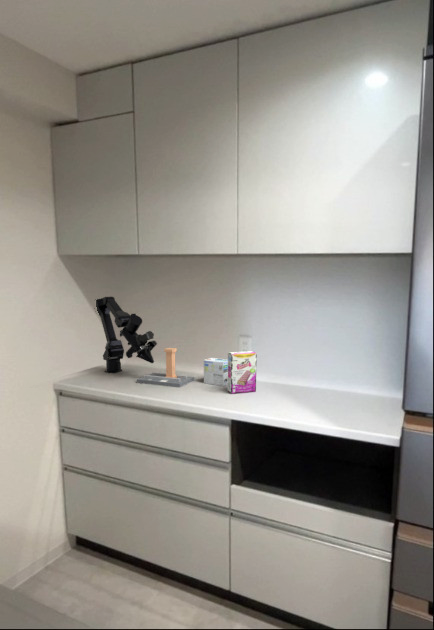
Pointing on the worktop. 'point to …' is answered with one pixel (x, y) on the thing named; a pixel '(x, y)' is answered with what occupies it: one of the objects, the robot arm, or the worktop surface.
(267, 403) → the worktop surface
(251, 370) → the candy bar box
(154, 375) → the grey base plate
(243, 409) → the worktop surface
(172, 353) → the orange square pillar
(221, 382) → the light bulb box
